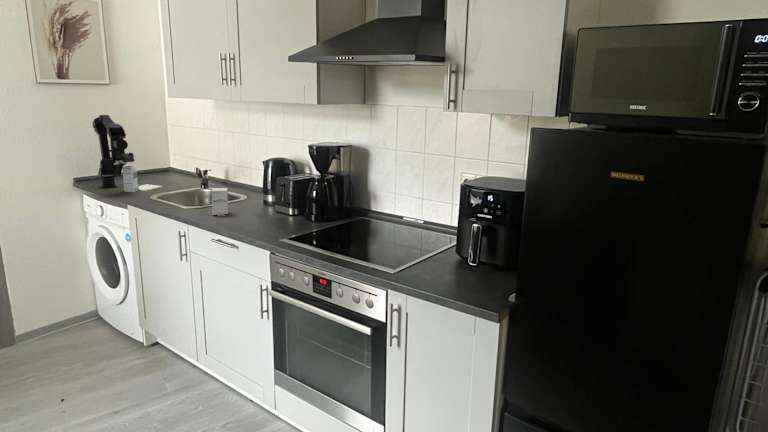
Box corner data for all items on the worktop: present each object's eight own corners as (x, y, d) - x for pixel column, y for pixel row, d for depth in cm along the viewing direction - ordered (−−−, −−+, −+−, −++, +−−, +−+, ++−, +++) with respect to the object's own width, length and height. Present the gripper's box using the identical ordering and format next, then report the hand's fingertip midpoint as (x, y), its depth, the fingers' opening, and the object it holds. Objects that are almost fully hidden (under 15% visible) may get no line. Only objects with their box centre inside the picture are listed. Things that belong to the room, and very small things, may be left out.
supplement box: (212, 216, 251) (211, 190, 248) (212, 212, 258) (212, 187, 255) (228, 215, 253) (227, 190, 250) (228, 212, 260) (227, 187, 257)
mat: (128, 188, 304) (128, 188, 304) (146, 184, 318) (146, 184, 318) (144, 190, 301) (144, 190, 301) (162, 186, 315) (162, 186, 315)
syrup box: (134, 192, 296) (132, 167, 293) (124, 191, 296) (121, 166, 293) (139, 190, 302) (137, 165, 298) (129, 189, 302) (127, 165, 299)
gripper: (114, 150, 274) (117, 179, 278) (141, 147, 292) (142, 174, 295) (98, 149, 277) (100, 177, 281) (125, 146, 295) (127, 173, 299)
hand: (118, 175), depth 289 cm, fingers closed
